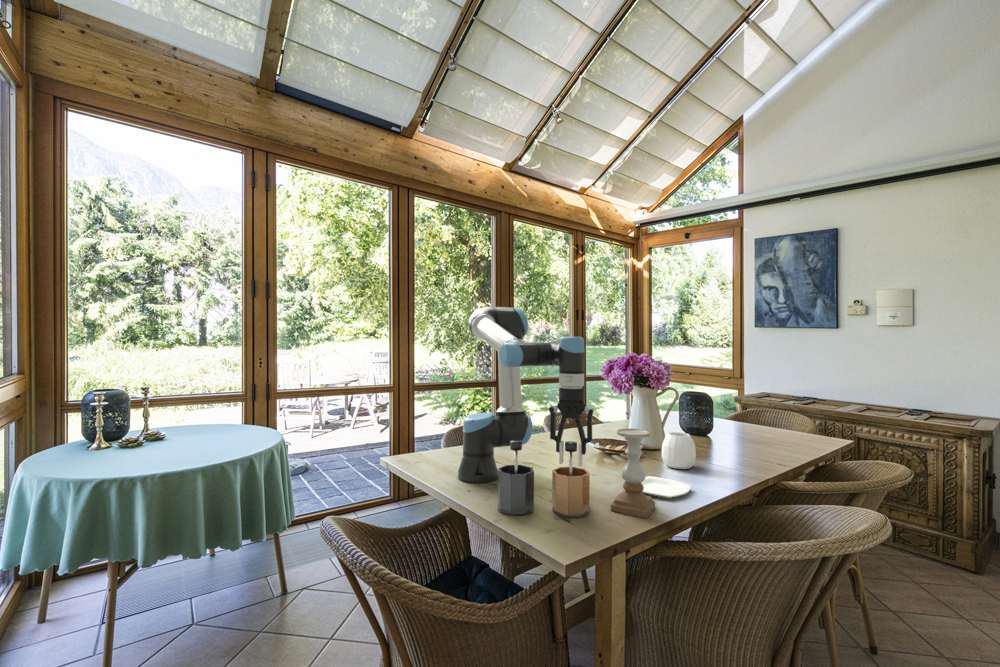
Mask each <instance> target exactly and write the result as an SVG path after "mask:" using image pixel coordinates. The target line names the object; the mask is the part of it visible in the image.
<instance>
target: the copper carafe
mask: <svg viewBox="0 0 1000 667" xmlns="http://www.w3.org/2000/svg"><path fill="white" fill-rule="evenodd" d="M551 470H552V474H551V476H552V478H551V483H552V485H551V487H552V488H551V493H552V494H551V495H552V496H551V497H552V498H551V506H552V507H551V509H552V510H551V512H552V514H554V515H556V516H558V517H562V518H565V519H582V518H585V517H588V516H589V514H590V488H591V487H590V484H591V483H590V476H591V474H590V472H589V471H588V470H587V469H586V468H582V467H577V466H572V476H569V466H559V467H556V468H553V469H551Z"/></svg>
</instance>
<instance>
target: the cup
mask: <svg viewBox="0 0 1000 667" xmlns="http://www.w3.org/2000/svg"><path fill="white" fill-rule="evenodd" d="M696 454H697V450H696V444H695V442H694V439H693V438H692V436H691V434H690V433H686V432H680V431H679V432H678V431H672V432H670V431H669V432H667V433H666V435H665V437H664V439H663V441H662V444H661V459H662V462H663V463H664V464H665V465H666V466H667V467H668V468H673V469H677V470H687V469H690V468H692V467H694V464H695V462H696V458H697V457H696Z"/></svg>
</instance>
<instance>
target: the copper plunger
mask: <svg viewBox="0 0 1000 667" xmlns="http://www.w3.org/2000/svg"><path fill="white" fill-rule="evenodd" d="M564 451H565V452H567V453H568V452H569V460H568V461H569V464H568V467H569V476H572V467H573V453H576V452H577V451H578V443H577V441H571V440H569V441H565V442H564Z"/></svg>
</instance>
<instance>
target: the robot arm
mask: <svg viewBox="0 0 1000 667" xmlns="http://www.w3.org/2000/svg"><path fill="white" fill-rule="evenodd" d="M467 324H468V329H469V332H470V333H471V334H472V335H473V336H474V337H475V338H477V339H478V340H479V339H480V340H482V341H485V342H486V343H487V344H488V345H489V346H490V347H492V349H494V350H495V351H497V364H498V365H497V367H498V372H497V373H498V394H499V395H498V396H499V398H498V400H499V407H498V408H497V410H496V412H495V414H494V413H492V412H478V413H477V412H476V413H474V414H470V415H468V416H466V417H465V418H464V419H463V425H462V426H463V427H462V457H461V461H460V464H459V467H458V471H457V478H458V480H460V481H463V482H467V483H473V484H474V483H475V484H477V483H478V484H480V483H488V482H494V481H495V480H497V479H498V466H497V463H496V458H495V453H494V452H495V448H503V447H504V448H505V447H510V441H511V440H521V441H522V446H523V445H525V444H527V443H528V442H529V441H530V440H531V437H532V434H533V421H532V418H531V416H530V414H527V411H526V410H527V409H525V407H523V405H522V382H521V367H549V366H550V367H558V370H559V372H558V383H559V384H558V385H559V389H558V403H557V404H556V405H551V406H550V407H549V408H548V410H549V415H550V423H549V424H550V425H549V428H550V429H549V430H550V432H549V434H550V436H549V438H550V439H551V440H553V441H554V442H555V448H556V449H555V451H556V453H559V458H558V459H559V460H558V461H559V462H558V463H559V465H563V463H564V456H565V455H564V451H565V442H564V440H562V438H563V434H564V430H565V428H566V423H567V419H574V421H575V424H576V427H577V430H578V431H577V432H578V435H579V439H580V442H579V443H578V467H582V465H583V455H584V456H585V455H586V453H587V444H588V443H591V442H592V441H593V415H594V412H595V410H594V408H592V407H591V408H590V407H588V406H586V404H585V389H584V388H583V387H584V386H585V350H586V349H585V339H584V337H583V336H561V337H559V341H558V342H555V341H547V342H534V341H533V342H523V341H524V340H523V338H524V337H525V336H526V335H527V334H528V329H529V323H528V317H527V315H526V313H525V312H524V311H523V309H521V308H519V307H512V306H510V307H508V306H507V307H506V306H482V307H480V308H478V309H476V310H475V311H473V312H472V313H471V314H470V316H469V319H468V322H467ZM558 411H559V412H560V414H561V415H562V416H561V419H560V423H559V427H558V430H557V413H558ZM584 411H585V415H586V434H587V435H586V434H585V431H584V425H583V422H582V418H581V415H582V414H583V412H584ZM556 433H557V434H556Z"/></svg>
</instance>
